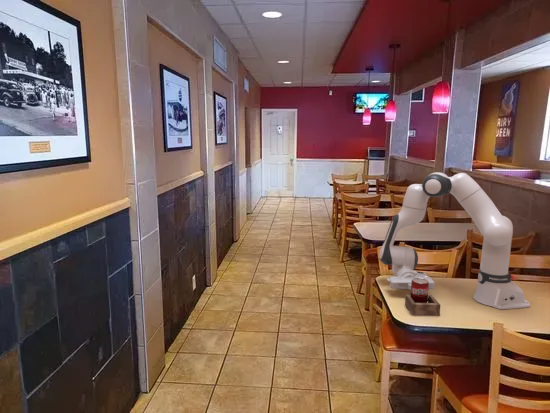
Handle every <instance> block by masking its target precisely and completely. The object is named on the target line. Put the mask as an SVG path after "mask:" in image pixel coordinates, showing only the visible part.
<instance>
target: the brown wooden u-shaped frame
mask: <svg viewBox="0 0 550 413" xmlns="http://www.w3.org/2000/svg"><path fill="white" fill-rule="evenodd" d="M410 295H411V294H405V295H404V296H405V297H404V306H405V307H406V308H405V309H407V311H408V312H409V314H410V315H411V316H416V317H417V316H422V317H423V316H424V317H425V316H427V317H431V316H432V317H433V316H435V317H440V315H441V303H440V302H439V301H438V300H437V299H436V298H435V297H434V296H433V295H432V294H428V303H415V302H414V301H413V299H412V298H411V297H410Z"/></svg>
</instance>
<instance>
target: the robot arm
mask: <svg viewBox="0 0 550 413" xmlns="http://www.w3.org/2000/svg"><path fill="white" fill-rule="evenodd" d="M448 194H451V195H452V196H453V197H454V198H455V199H456V200H457V202H458V203H459V204H460V205H461V207H462V208H463V209H464V211H466V214H468V216H469V217H470V218H471V220H472V222H473V223H474V224H475V226H476V228H477V229H478V231H479V232H480V233H481V235H482V236H483V240H482V241H483V242H482V247H481V256H480V266H479V269H478V275H477V285H476V289H475V292H474V294H473V296H472V299H474V300H475V301H476V302H477V303H480V304H482V305H485V306H487V307H488V306H490V307H492V308H496V309H498V310H511V309H522V308H523V309H524V308H530V307H531V306H530V305H531V304H530V302H529V301H528V300H527V299H526V298H525V293H524V291H523V289H522V288H521V287H520V286H519V285H517V284H516V283H515V282H514V281H516V280H517V275H515V274H512V273H510V272H509V268H510V258H511V250H512V249H511V247H512V241H513V240H512V239H513V233H514V225H513V222H512V220H511V219H510V218H508V217H507V216H505V215H502V214H501V212H500V210H499V209H498V208H497V206H496V204H494V202H493V199H491V198H490V196H489V195H487V193H486V192H485V190H483V188H482V187H481V186H480V185H479V184H478V182H476V181H475V180H474V179H473V178H472V177H471V176H470V175H469V174H468V173H465V172H458V173H456V174H454V175H453V176H452V175H451V176H449V175H448V174H447V173H445V172H443V171H437V172H432V173H430V174H428V175H427V176H425V178H424V179H423V181H422V183H413V184H410V185H409V186H408V187H407V189H406V191H405V194H404V197H403V200H402V206H401V208H400V210H399V212H398V213H396V214H395V215H394V216H393V217H392V219H391V221H390V224H389V226H388V229H387V232H386V234H385V238H384V240H383V243H382V245H381V247H380V249H379V253H378V259H379V260H380V262H381V263H382V264H383V265H385V266H391V271H392V274H393V276H390V277H389V278H387V279H386V281H387V282H388V283H389V287H390V288H391V289H393V290H410V291H411V281H412V279H413V278H423V279H426V280H428V282H429V290H434V289H435V284H436V282H435V281H434V279H433V278H431V277H430V276H429V275H427V273H426V272H423V271H419V270H418V271H417V270H415V269H416V268H417V266H418V263H419V256H418V252H417V250H416V249H415V248H414V247H413V246H411V247H410V246H403V245H401V246H400V245H394V243H395V241H396V238H397V235H398V232H400V230H402V229H404V228H406V227H410V226H414V225H415V226H416V225H417V224H419V223H421V222H422V221H423V220H424V218H425V216H426V211H427V206H428V201H429V199H430V198H437V197H441V196H444V195H448ZM512 280H513V281H512Z"/></svg>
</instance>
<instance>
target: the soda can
mask: <svg viewBox="0 0 550 413" xmlns="http://www.w3.org/2000/svg"><path fill="white" fill-rule="evenodd" d="M429 290H430V289H429V282H428V280H426V279H423V278H413V279H412V281H411V290H410V294H409V295H410V297H411V298H412V299H413V301H414V302H415V303H428V295H429Z"/></svg>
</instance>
